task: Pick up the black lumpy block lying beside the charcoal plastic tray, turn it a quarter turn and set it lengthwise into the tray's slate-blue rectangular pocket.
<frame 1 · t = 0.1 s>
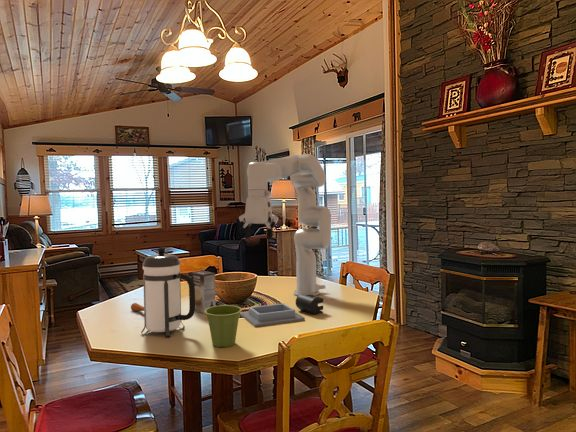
hand: (258, 238, 169), 31 cm above the table, tool pointing down, fingers open, 9 cm apart
kendama: (145, 315, 177), on the table
black lumpy block: (309, 312, 178), on the table
plant pot: (223, 344, 140), on the table
coffee box: (203, 311, 182), on the table
coffee press: (167, 332, 154), on the table
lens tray: (271, 317, 170), on the table
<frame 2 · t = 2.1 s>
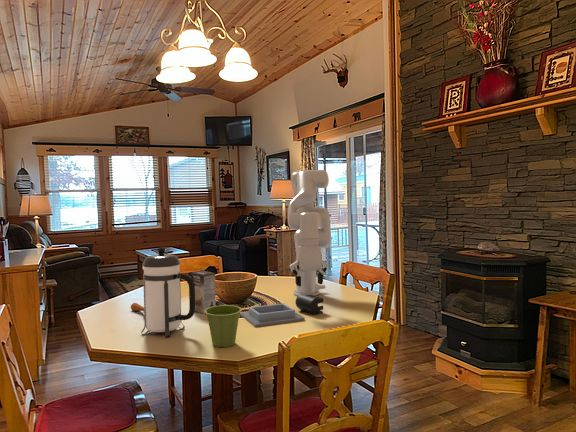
hand: (309, 284, 177), 11 cm above the table, tool pointing down, fingers open, 9 cm apart
nothing on the table moved.
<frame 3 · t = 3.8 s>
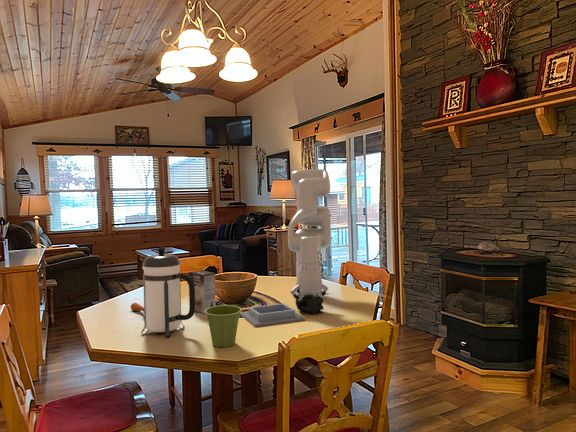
hand: (309, 308, 178), 1 cm above the table, tool pointing down, fingers closed on black lumpy block, 8 cm apart
black lumpy block: (309, 312, 178), on the table, touching gripper
everything else where it was.
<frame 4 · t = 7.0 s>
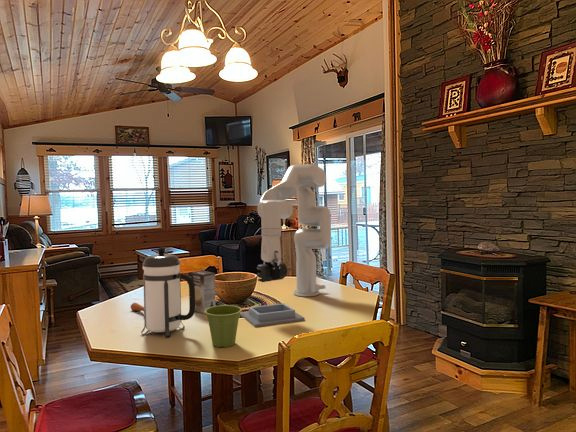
hand: (271, 277, 170), 16 cm above the table, tool pointing down, fingers closed on black lumpy block, 8 cm apart
black lumpy block: (271, 281, 170), point 14 cm above the table, touching gripper
everything else where it was.
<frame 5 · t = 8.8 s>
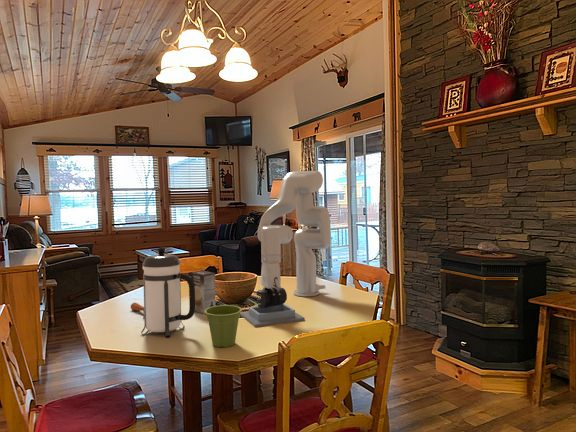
hand: (271, 302, 170), 6 cm above the table, tool pointing down, fingers closed on black lumpy block, 8 cm apart
black lumpy block: (271, 306, 170), point 4 cm above the table, touching gripper
everything else where it was.
when the fingers open (5 cm above the table, at t = 10.1 s): black lumpy block drops 2 cm, resting on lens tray.
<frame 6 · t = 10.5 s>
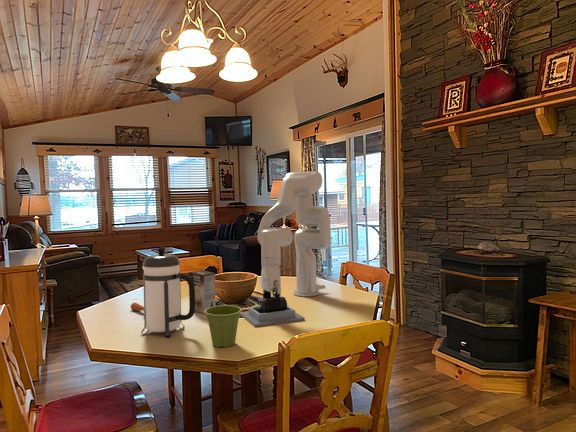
hand: (271, 304, 170), 5 cm above the table, tool pointing down, fingers open, 9 cm apart
black lumpy block: (272, 315, 171), point 1 cm above the table, touching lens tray
everything else where it was.
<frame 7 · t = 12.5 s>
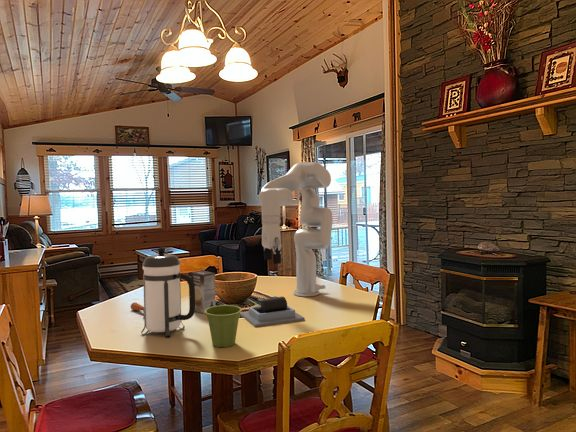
hand: (272, 261, 177), 21 cm above the table, tool pointing down, fingers open, 9 cm apart
nothing on the table moved.
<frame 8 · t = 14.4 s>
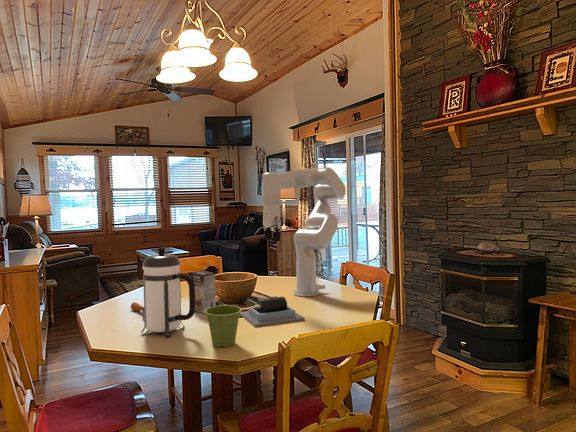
hand: (272, 240, 190), 28 cm above the table, tool pointing down, fingers open, 9 cm apart
nothing on the table moved.
at the end: black lumpy block 0.2 cm off-centre on the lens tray, point 0.8 cm above the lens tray's base; black lumpy block touching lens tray; the gripper is holding nothing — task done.
